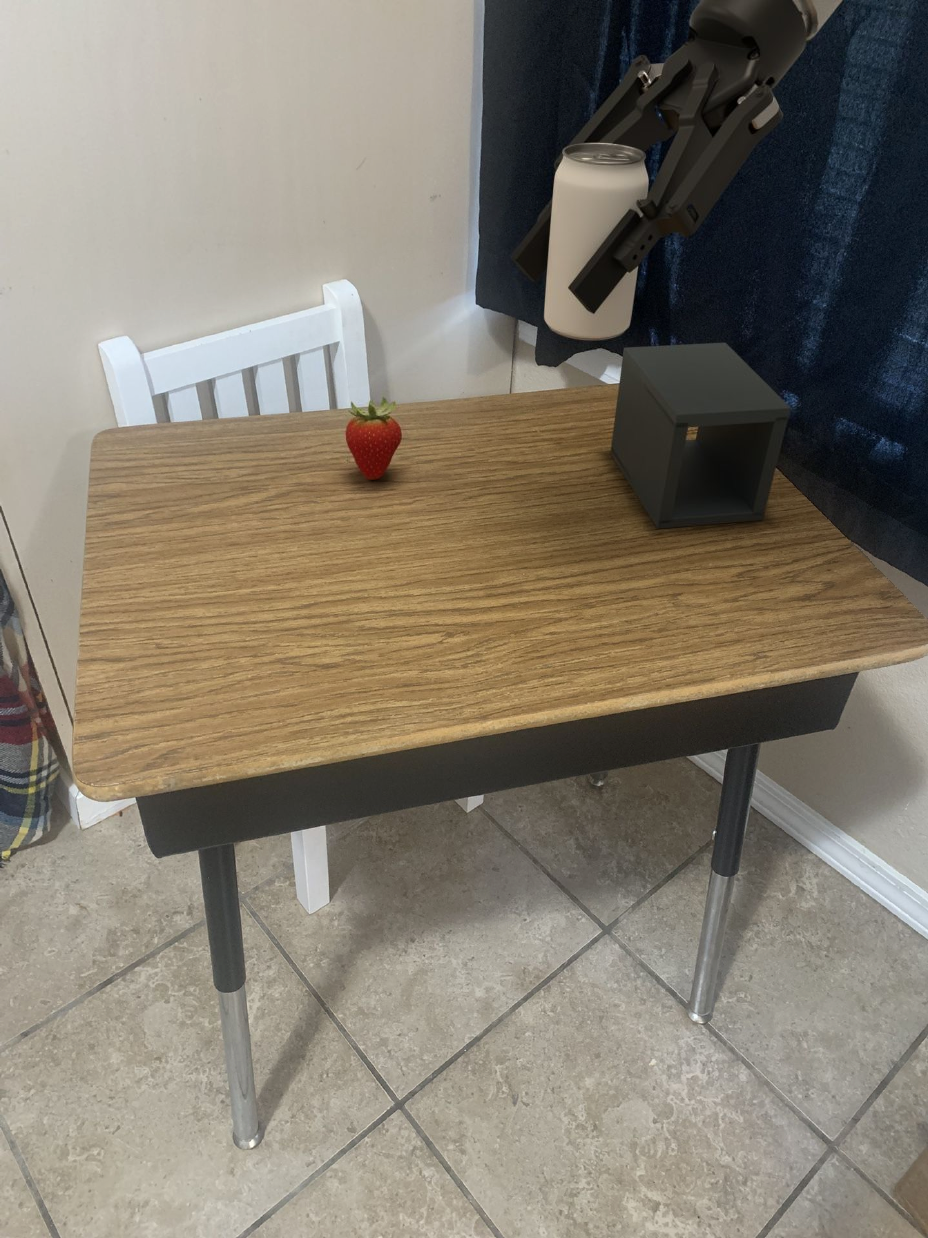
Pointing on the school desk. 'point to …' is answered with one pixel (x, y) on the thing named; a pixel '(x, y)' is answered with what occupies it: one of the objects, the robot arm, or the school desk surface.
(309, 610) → the school desk surface
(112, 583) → the school desk surface
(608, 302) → the can
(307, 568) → the school desk surface
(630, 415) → the shelf
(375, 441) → the fruit
